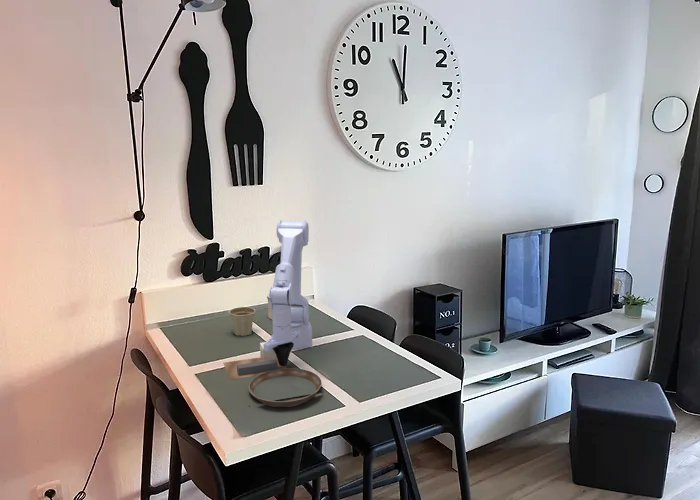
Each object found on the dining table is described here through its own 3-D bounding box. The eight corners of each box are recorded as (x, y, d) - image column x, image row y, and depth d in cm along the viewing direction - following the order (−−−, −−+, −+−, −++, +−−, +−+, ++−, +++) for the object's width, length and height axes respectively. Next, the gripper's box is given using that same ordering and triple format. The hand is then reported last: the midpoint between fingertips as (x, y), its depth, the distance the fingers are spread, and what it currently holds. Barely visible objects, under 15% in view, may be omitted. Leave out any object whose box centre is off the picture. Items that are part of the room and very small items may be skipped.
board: (278, 357, 184) (278, 354, 184) (288, 373, 172) (288, 370, 172) (223, 365, 178) (223, 362, 178) (229, 382, 166) (229, 379, 166)
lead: (275, 366, 175) (275, 359, 174) (277, 369, 173) (277, 362, 172) (237, 372, 171) (236, 365, 170) (238, 375, 169) (238, 368, 168)
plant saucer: (259, 418, 147) (259, 406, 146) (241, 385, 165) (241, 374, 165) (332, 403, 155) (332, 392, 154) (307, 373, 173) (307, 363, 173)
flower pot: (261, 331, 207) (260, 309, 205) (244, 339, 199) (243, 316, 197) (242, 327, 212) (241, 305, 210) (224, 334, 204) (223, 312, 202)
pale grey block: (272, 355, 183) (272, 341, 182) (275, 361, 179) (275, 346, 178) (260, 357, 182) (259, 342, 181) (263, 363, 177) (263, 348, 176)
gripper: (288, 315, 179) (289, 354, 182) (255, 327, 168) (257, 369, 171) (304, 319, 175) (305, 359, 178) (272, 333, 164) (274, 375, 167)
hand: (282, 365), depth 174 cm, fingers closed
